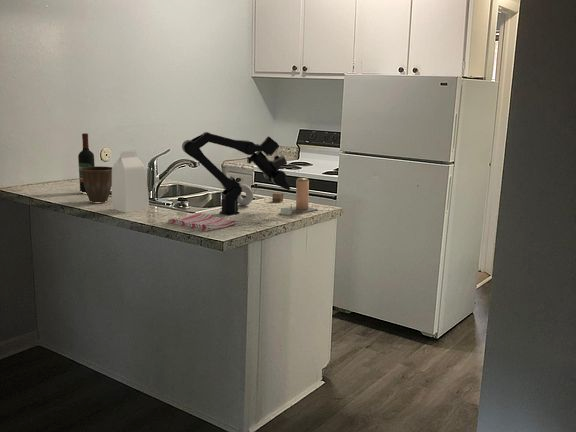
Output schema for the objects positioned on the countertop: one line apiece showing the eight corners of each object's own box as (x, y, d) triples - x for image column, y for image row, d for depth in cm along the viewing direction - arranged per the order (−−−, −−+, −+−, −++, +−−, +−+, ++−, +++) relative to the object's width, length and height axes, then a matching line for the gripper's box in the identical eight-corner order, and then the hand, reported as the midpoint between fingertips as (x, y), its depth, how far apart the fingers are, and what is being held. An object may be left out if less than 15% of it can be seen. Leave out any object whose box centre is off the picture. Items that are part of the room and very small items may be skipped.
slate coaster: (302, 213, 267) (302, 212, 267) (286, 209, 274) (286, 208, 274) (317, 210, 274) (318, 209, 274) (302, 207, 281) (302, 205, 281)
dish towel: (205, 233, 230) (205, 224, 229) (166, 223, 245) (166, 215, 244) (237, 226, 242) (237, 217, 242) (199, 217, 257) (199, 209, 257)
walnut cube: (280, 202, 292) (280, 194, 291) (272, 201, 293) (272, 193, 293) (283, 201, 296) (283, 193, 295) (275, 200, 297) (275, 192, 296)
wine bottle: (99, 192, 308) (96, 133, 302) (87, 194, 302) (83, 134, 296) (89, 191, 312) (86, 132, 306) (77, 193, 306) (73, 133, 300)
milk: (126, 213, 261) (123, 153, 255) (111, 209, 268) (108, 150, 263) (149, 209, 269) (147, 151, 264) (134, 205, 277) (132, 149, 272)
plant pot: (109, 198, 294) (108, 165, 291) (119, 203, 282) (118, 169, 279) (78, 201, 286) (76, 167, 283) (87, 206, 274) (85, 171, 270)
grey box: (289, 215, 264) (289, 208, 264) (280, 214, 265) (280, 207, 264) (291, 212, 270) (292, 205, 269) (283, 212, 271) (283, 205, 270)
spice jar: (299, 210, 270) (299, 179, 267) (293, 208, 275) (294, 178, 272) (310, 209, 273) (311, 179, 270) (305, 207, 278) (305, 177, 275)
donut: (254, 205, 282) (254, 184, 280) (251, 207, 279) (251, 185, 277) (236, 203, 286) (236, 182, 284) (232, 205, 283) (232, 183, 281)
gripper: (281, 152, 256) (305, 178, 262) (270, 148, 274) (293, 172, 279) (263, 171, 256) (287, 196, 261) (253, 165, 273) (276, 189, 278)
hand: (286, 187), depth 270 cm, fingers open, 9 cm apart
